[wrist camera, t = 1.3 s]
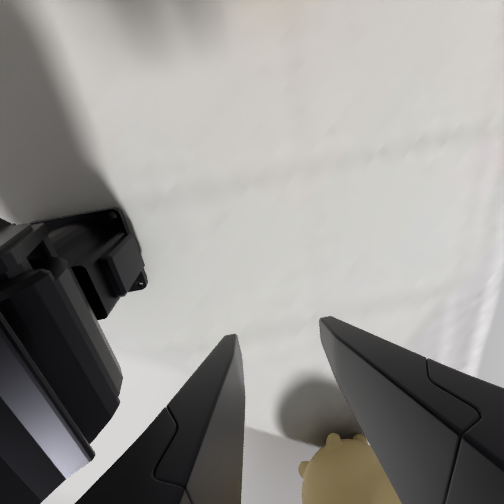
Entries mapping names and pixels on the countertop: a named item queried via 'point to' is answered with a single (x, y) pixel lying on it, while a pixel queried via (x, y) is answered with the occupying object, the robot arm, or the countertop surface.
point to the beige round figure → (346, 474)
